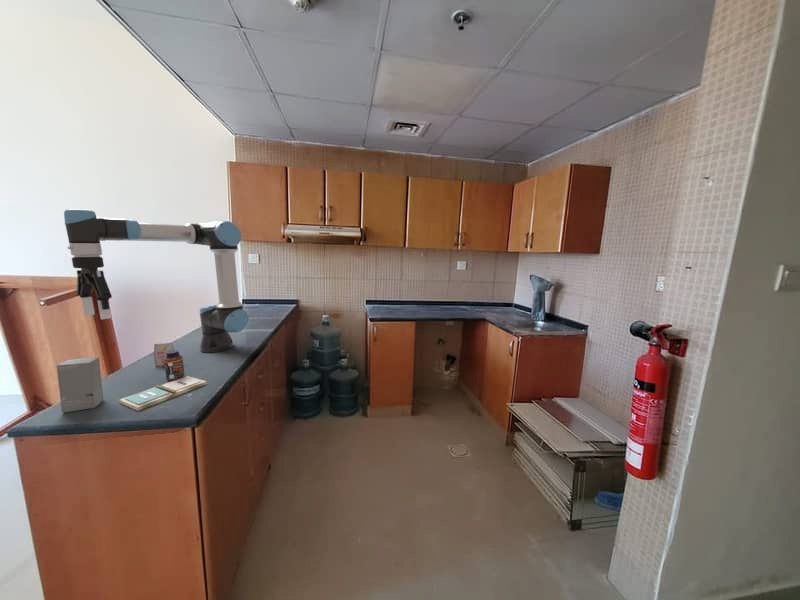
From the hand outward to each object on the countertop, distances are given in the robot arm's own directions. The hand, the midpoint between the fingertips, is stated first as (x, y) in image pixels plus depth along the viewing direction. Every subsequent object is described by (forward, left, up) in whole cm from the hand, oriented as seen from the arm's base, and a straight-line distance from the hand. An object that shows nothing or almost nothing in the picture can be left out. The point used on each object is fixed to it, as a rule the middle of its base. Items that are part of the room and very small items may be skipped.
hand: (97, 316), depth 108 cm
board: (-8, +21, -28) cm, 36 cm away
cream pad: (-14, +21, -27) cm, 36 cm away
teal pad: (-3, +21, -27) cm, 34 cm away
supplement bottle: (-17, +10, -28) cm, 34 cm away
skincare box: (+9, +7, -28) cm, 30 cm away
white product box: (-24, -11, -28) cm, 39 cm away
